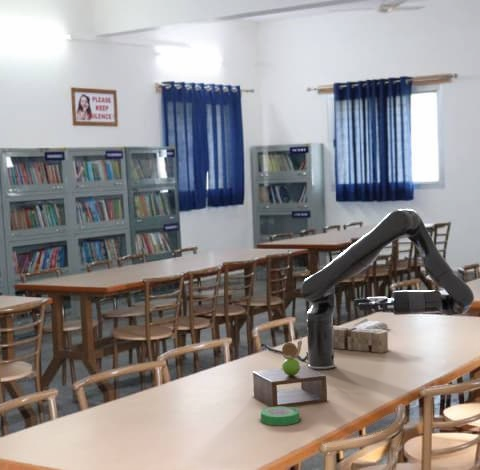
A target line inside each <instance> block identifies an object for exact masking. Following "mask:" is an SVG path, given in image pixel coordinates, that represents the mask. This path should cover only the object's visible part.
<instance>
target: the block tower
mask: <svg viewBox="0 0 480 470" xmlns="http://www.w3.org/2000/svg"><path fill="white" fill-rule="evenodd" d="M388 333H389V332H388V329H383V330H380V329H366V328H358V329H357V328H356V327H351V326H346V325H345V326H344V325H343V326H342V325H340V326H339V325H333V342H334V349H337V350H338V349H339V350H350V351H358V352H370V351H371V353H379V354H383V353H385V352H388V351H389V336H388Z"/></svg>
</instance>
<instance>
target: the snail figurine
mask: <svg viewBox="0 0 480 470" xmlns="http://www.w3.org/2000/svg"><path fill="white" fill-rule="evenodd" d="M299 339H300V340H298V341H297V345H296V344H295V343H293V342H286V343H284V344H283V345H282V347H281V351H283V353H284V354H282V355H281V356H282V357H283V358H284V359H285V360H283V362H282V366H281V368H282V369H283V371H284V373H285V374H287V375H289V376H293V375H296V374H297V373H298V372H299V370H300V366H301V364H300V362H299V360H297V359H296V358H298V357H297V356H298V355H299V356H300V353H301V350H302V345H303V341H302V339H303V338H302V336H300V337H299Z"/></svg>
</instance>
